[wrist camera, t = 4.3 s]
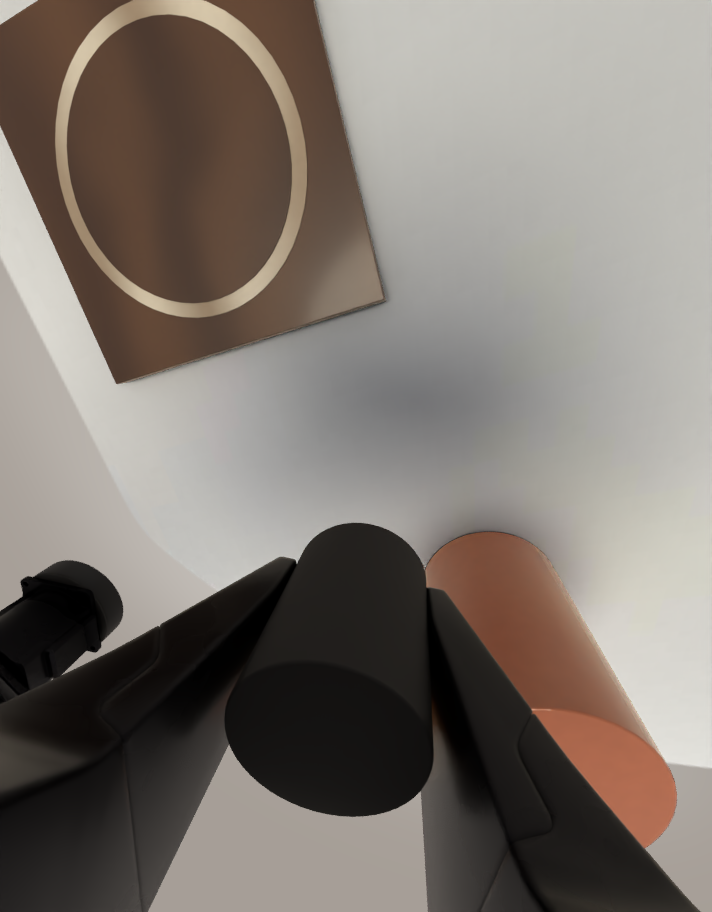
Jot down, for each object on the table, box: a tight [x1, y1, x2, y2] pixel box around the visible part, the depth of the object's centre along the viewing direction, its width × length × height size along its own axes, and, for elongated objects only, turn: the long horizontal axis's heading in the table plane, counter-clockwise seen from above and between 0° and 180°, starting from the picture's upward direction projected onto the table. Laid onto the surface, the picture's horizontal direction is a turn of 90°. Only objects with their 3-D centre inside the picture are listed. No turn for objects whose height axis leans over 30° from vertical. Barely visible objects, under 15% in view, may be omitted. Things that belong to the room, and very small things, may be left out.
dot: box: [224, 523, 434, 817], centre depth 7 cm, size 3×3×4 cm
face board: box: [0, 0, 386, 384], centre depth 18 cm, size 16×16×1 cm
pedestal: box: [425, 532, 677, 848], centre depth 18 cm, size 8×8×11 cm
